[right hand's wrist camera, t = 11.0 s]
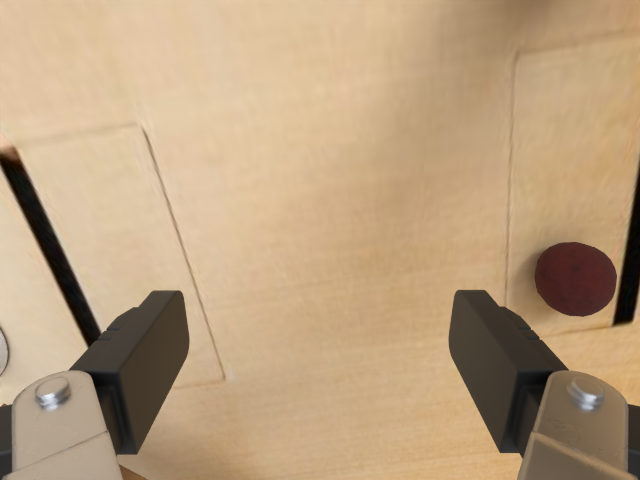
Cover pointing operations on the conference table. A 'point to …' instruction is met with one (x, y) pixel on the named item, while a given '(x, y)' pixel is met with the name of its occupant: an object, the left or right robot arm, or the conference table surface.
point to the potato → (575, 278)
